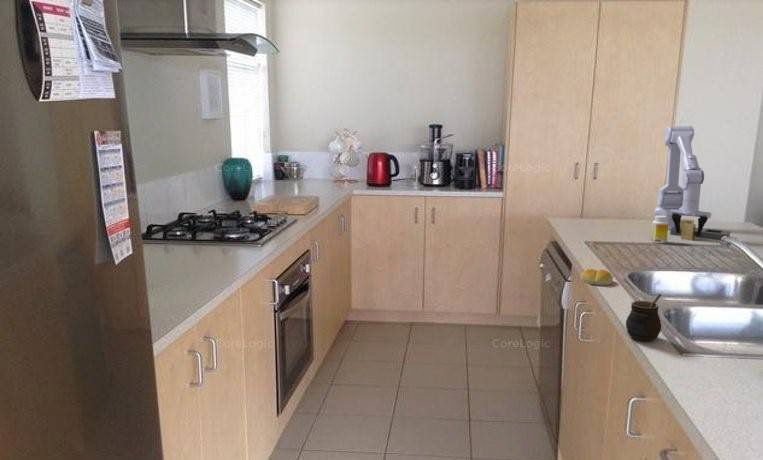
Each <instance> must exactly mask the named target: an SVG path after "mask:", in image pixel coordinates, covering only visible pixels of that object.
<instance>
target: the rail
mask: <svg viewBox="0 0 763 460" xmlns="http://www.w3.org/2000/svg"><path fill="white" fill-rule="evenodd" d="M697 232H698V227H696V230H695V238H699V239H706V240H707V239H708V240H717V241H722V240H721V238H722V237H723V236H727V237H729V238H730V237H731V236H730V235H731V230H723V229H722V230H721V229H711V228H704V227H703V229H702V231H701V235H700V236H697ZM681 233H682V229H680V233H676V228H675V227H673V228H671V229H670V233H669V235H671V236H680V237H681Z"/></svg>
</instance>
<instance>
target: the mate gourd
mask: <svg viewBox="0 0 763 460" xmlns="http://www.w3.org/2000/svg"><path fill="white" fill-rule="evenodd" d="M661 296H662V294H661V293H658V295H657V296H656V298H655V299H654V300H653V301H647V300H636V301H635V300H634V301H632V302H631V307H630V308H631V309H630V313H629V315H627V318H626V321H625V327H626V333H628V335H629V337H631V338H632V339H633V340H635V341H640V342H652V341H653V340H656V339H657V338H658V337H659V335H660V333H661V331H662V322H661V318H660V315H659V305H658V304H657V301H658V300H659V299H660V298H661Z"/></svg>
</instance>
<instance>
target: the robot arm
mask: <svg viewBox="0 0 763 460" xmlns="http://www.w3.org/2000/svg"><path fill="white" fill-rule="evenodd" d="M694 136H695V129H694V127H693V126H692V125H688V126H685V125H684V126H681V125H679V126H675V125H674V126H671V125H668V126H667V127H666V128H665V132H664V146H667V166H666V180H665V184H664V185H663V186H661V187H660V188H658V193H657V196H656V202H657V205H658V206H656V207H655V209H654V211H653V221H655V216H666V221H667V222H668V229H669V230H671V228H673V227H675V228H676V233H680V222H681V220H682V216H683V217H684V216H685V217H696V218H697V223H698V225H697V228H698V232H697V236H700V235H701V231H702V229H703V228H704V227H705V225H706V223H707V221H708V220H709V219H711V218H712V212H707V211H700V210H699V208H700V197H701V186H702V185H703V183H704V181H705V173H704V170H703V169H702V167H700V165H699V161H698V158H697V156H696V154H693V150H692V149H693V148H692V147H693V146H692V142H693V139H694ZM681 156H682V157H681ZM680 166H681V167H682V172H683V173H682V177H681V178H682V187H681V186H680V185H679V182H680V181H679V178H680Z"/></svg>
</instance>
